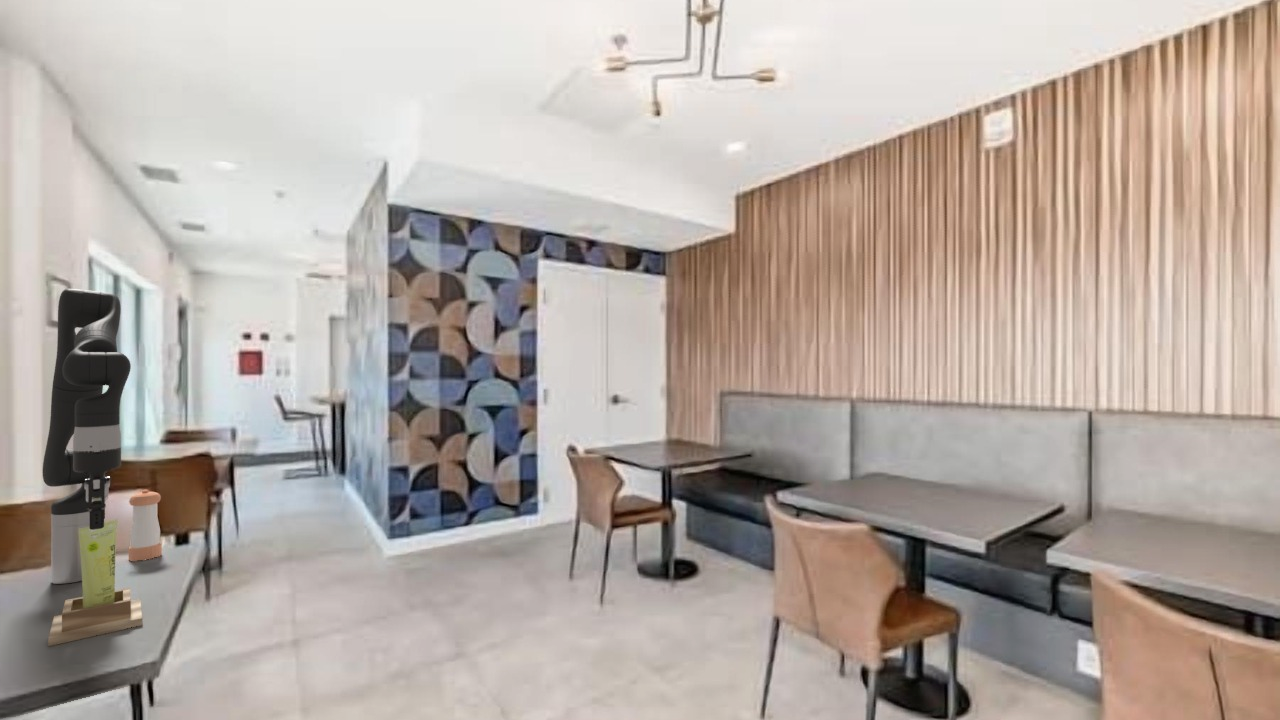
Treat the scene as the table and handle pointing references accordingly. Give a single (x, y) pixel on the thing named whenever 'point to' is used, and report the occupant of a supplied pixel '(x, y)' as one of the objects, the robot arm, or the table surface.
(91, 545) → the tube
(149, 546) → the pepper shaker
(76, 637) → the socket block
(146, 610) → the table surface
